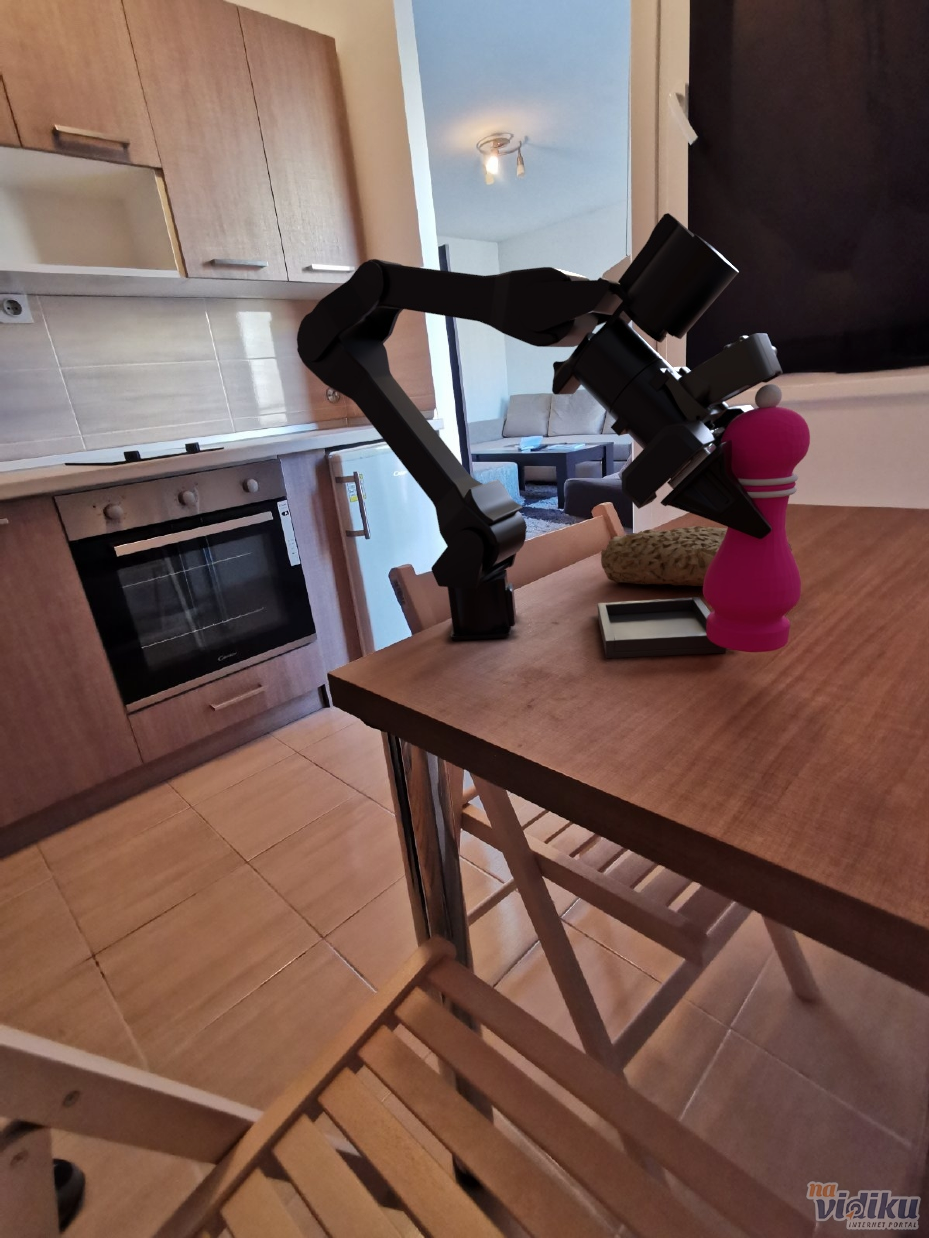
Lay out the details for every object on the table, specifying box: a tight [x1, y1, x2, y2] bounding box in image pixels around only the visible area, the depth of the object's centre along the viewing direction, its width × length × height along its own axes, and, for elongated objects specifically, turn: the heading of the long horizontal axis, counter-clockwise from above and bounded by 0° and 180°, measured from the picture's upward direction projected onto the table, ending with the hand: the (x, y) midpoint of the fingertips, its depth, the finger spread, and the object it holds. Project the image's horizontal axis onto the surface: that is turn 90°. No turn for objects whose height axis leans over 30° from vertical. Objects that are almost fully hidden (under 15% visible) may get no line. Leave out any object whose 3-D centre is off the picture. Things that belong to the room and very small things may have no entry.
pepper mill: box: [702, 383, 811, 653], centre depth 46 cm, size 7×7×20 cm
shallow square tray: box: [597, 596, 727, 659], centre depth 59 cm, size 11×11×2 cm
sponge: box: [600, 525, 793, 587], centre depth 71 cm, size 13×8×20 cm
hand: (774, 527), depth 46 cm, fingers closed on pepper mill, 5 cm apart
